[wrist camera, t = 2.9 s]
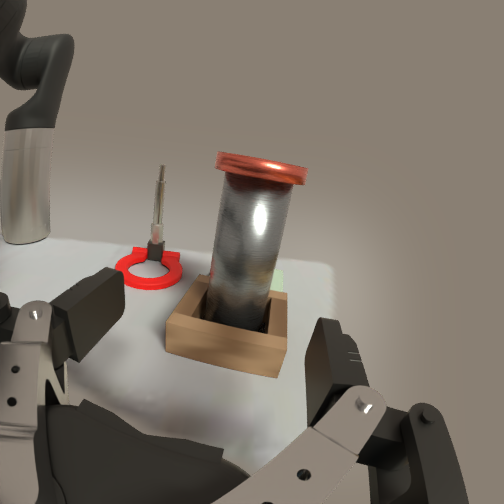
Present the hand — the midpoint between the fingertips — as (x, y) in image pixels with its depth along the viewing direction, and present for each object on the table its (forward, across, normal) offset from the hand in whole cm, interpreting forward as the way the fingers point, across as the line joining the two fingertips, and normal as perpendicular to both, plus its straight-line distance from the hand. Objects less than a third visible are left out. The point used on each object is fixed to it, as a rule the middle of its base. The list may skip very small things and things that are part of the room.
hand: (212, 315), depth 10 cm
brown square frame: (+11, 0, +9) cm, 15 cm away
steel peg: (+11, 0, +9) cm, 15 cm away
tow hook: (+19, +12, +10) cm, 25 cm away
